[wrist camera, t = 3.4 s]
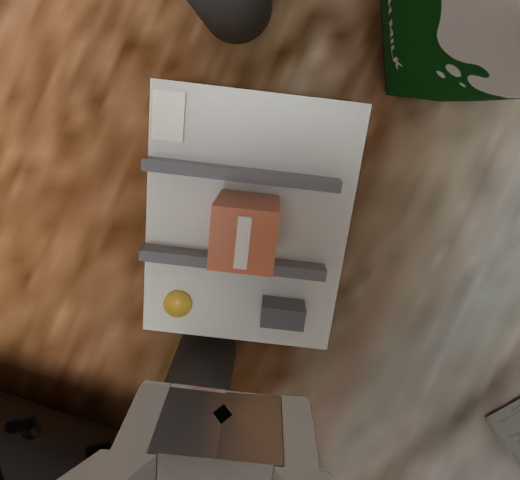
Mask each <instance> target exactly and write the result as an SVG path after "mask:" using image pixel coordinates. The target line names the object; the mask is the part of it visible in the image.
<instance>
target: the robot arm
mask: <svg viewBox="0 0 520 480" xmlns="http://www.w3.org/2000/svg"><path fill="white" fill-rule="evenodd" d="M57 480H336V479H335V478H334V477H333V476H332V475H331V473H330V472H323V471H320V465H319V458H318V452H317V445H316V438H315V431H314V425H313V418H312V411H311V405H310V400H309V399H308V397H302V396H289V395H280V396H278V395H268V394H258V393H248V392H238V391H227V390H222V389H214V388H206V387H199V386H191V385H183V384H175V383H173V384H171V383H165V382H156V381H148V380H145V381H144V382H143V383H142V384H141V385H140V386H139V389H138V391H137V393H136V395H135V397H134V399H133V402H132V404H131V406H130V408H129V410H128V412H127V415H126V417H125V419H124V421H123V423H122V425H121V428H120V430H119V432H118V434H117V436H116V438H115V441H114V443H113V445H112V447H111V449H110V450H106V449H100V450H99V451H97V452H96V453H95V454H93V455H92V456H90V457H89V458H87V459H86V460H84V461H83V462H81V463H80V464H79V465H77V466H76V467H74V468H73V469H71V470H70V471H68V472H67V473H65V474H64V475H62V476H61V477H60V478H58V479H57Z"/></svg>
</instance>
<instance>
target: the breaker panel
mask: <svg viewBox="0 0 520 480" xmlns="http://www.w3.org/2000/svg"><path fill="white" fill-rule="evenodd" d="M371 107H372V104H367V103H359V102H350V101H342V100H333V99H325V98H316V97H308V96H299V95H291V94H282V93H274V92H265V91H257V90H248V89H240V88H231V87H223V86H214V85H206V84H197V83H189V82H180V81H172V80H163V79H155V78H150V106H149V140H148V156H146V157H144V158H141V171H148V173H147V207H146V241H145V244H144V245H143V246H142V247H141V248H140V250H139V261H144V262H145V275H144V309H143V329H144V330H153V331H162V332H171V333H180V334H189V335H198V336H207V337H216V338H225V339H233V340H242V341H251V342H260V343H269V344H278V345H287V346H296V347H305V348H314V349H323V350H327V346H328V341H329V335H330V330H331V324H332V319H333V314H334V308H335V303H336V297H337V292H338V286H339V281H340V276H341V270H342V265H343V259H344V254H345V248H346V243H347V237H348V232H349V227H350V221H351V216H352V210H353V205H354V199H355V194H356V188H357V183H358V178H359V172H360V167H361V161H362V156H363V150H364V145H365V140H366V134H367V129H368V123H369V118H370V112H371ZM221 189H230V190H239V191H248V192H256V193H265V194H274V195H279V199H280V209H281V216H280V224H279V231H278V239H277V247H276V254H275V262H274V270H273V277H264V276H255V275H247V274H238V273H229V272H220V271H211V270H206V269H207V256H208V243H209V231H210V218H211V205H212V204H213V202H214V200H215V199H216V197H217V196H218V194H219V193H220V191H221Z"/></svg>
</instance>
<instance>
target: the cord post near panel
mask: <svg viewBox="0 0 520 480" xmlns="http://www.w3.org/2000/svg"><path fill="white" fill-rule="evenodd" d="M234 357H235V345H234V342H233V340H232V339H225V338H216V337H207V336H198V335H189V334H184V335H183V337H182V339H181V341H180V343H179V346H178V348H177V351H176V353H175V356H174V359H173V361H172V364H171V366H170V369H169V371H168V374H167V376H166V379H165V381H164V382H165V383H171V384H173V383H175V384H183V385H191V386H199V387H206V388H214V389H222V390H227V391H230V384H231V378H232V371H233V364H234Z"/></svg>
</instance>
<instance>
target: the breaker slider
mask: <svg viewBox="0 0 520 480" xmlns="http://www.w3.org/2000/svg"><path fill="white" fill-rule="evenodd" d="M280 216H281V209H280V199H279V195H274V194H265V193H256V192H248V191H239V190H230V189H221V191H220V193H219V194H218V196H217V197H216V199H215V200H214V202H213V204H212V205H211V218H210V231H209V243H208V256H207V269H206V270H211V271H220V272H229V273H238V274H247V275H255V276H264V277H273V270H274V262H275V254H276V247H277V239H278V231H279V224H280Z"/></svg>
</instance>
